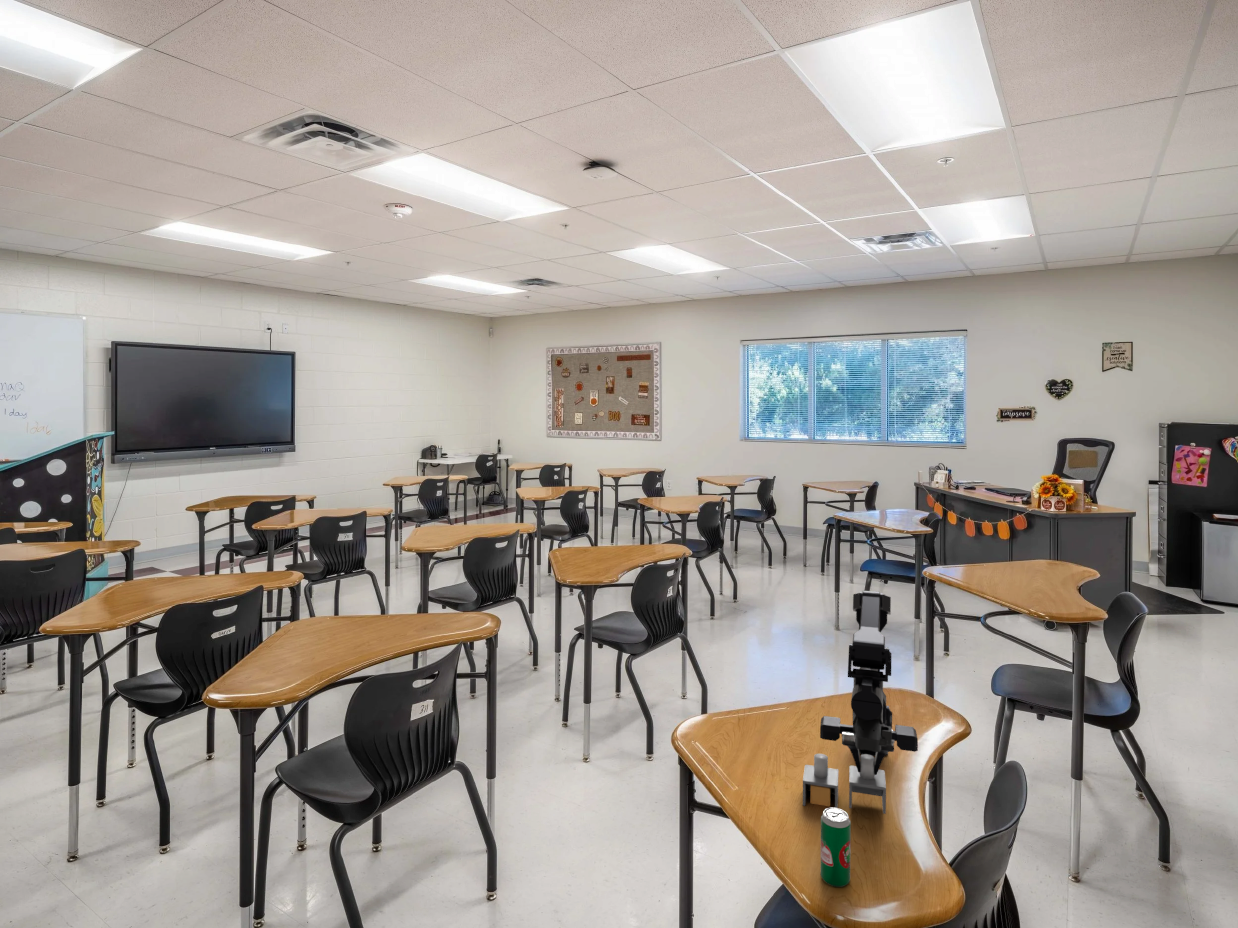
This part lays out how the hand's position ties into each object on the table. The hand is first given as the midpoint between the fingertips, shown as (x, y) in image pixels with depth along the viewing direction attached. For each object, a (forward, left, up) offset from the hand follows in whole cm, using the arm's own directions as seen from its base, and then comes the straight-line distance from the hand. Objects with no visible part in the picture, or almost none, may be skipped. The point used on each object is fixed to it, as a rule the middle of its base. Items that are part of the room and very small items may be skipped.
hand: (867, 772), depth 142 cm
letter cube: (+9, -4, -8) cm, 12 cm away
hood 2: (0, 0, -6) cm, 6 cm away
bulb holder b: (+9, -4, -8) cm, 12 cm away
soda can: (+13, +22, -8) cm, 26 cm away
